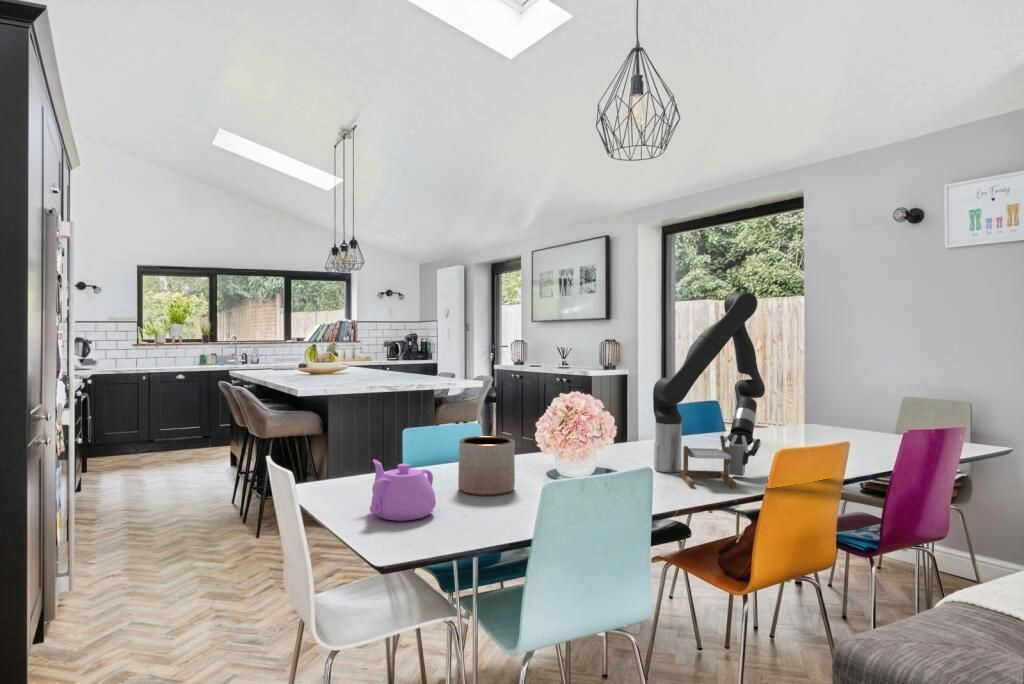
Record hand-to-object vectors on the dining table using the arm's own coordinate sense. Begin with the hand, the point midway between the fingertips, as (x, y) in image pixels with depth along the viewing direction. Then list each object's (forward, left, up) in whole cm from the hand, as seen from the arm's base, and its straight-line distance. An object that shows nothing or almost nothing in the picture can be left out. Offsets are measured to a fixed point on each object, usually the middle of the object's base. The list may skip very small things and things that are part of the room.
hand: (736, 462), depth 227 cm
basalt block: (+1, +2, -4) cm, 5 cm away
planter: (-83, -24, -6) cm, 87 cm away
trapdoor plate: (-11, -7, +2) cm, 13 cm away
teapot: (-104, -54, -6) cm, 117 cm away
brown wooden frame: (-11, -7, -5) cm, 14 cm away
